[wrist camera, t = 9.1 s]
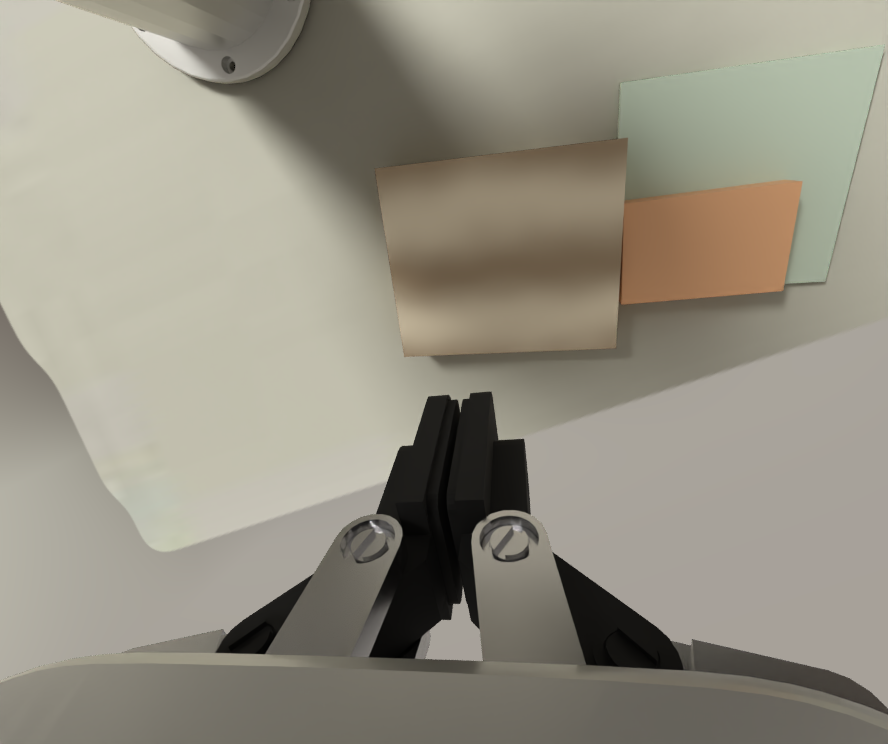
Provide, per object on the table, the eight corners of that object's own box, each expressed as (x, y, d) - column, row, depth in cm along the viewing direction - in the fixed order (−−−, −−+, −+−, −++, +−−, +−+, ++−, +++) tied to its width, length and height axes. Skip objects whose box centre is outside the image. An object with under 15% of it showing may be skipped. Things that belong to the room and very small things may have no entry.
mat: (619, 83, 25) (621, 82, 25) (879, 46, 23) (885, 44, 22) (609, 292, 30) (610, 294, 30) (821, 279, 28) (825, 281, 27)
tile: (617, 201, 27) (624, 203, 26) (784, 179, 25) (802, 181, 24) (615, 296, 30) (621, 304, 28) (768, 283, 28) (783, 290, 26)
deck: (388, 167, 29) (374, 168, 26) (616, 139, 26) (628, 137, 23) (413, 340, 34) (404, 356, 31) (607, 331, 31) (616, 348, 28)
